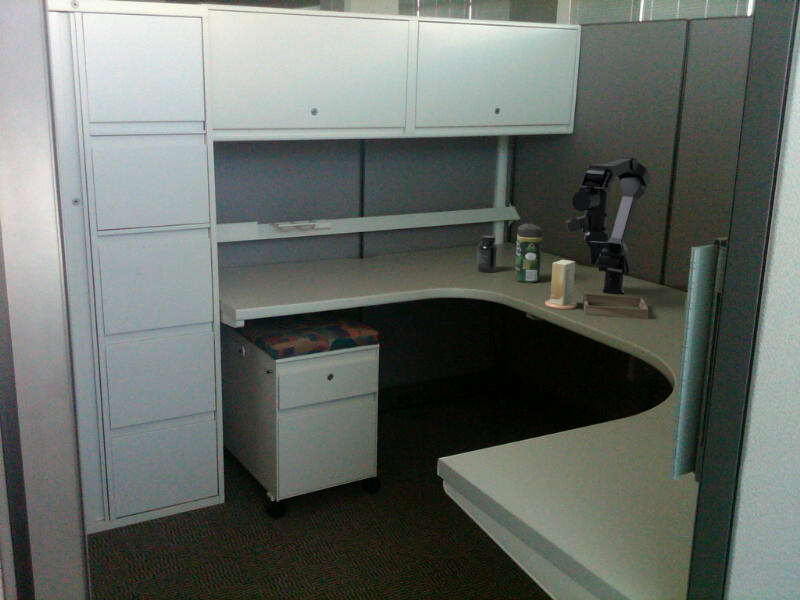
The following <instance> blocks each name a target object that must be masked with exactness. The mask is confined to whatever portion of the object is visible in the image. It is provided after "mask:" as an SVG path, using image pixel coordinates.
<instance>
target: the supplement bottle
mask: <svg viewBox="0 0 800 600" xmlns="http://www.w3.org/2000/svg"><path fill="white" fill-rule="evenodd" d="M498 251H499V248H498V245H496V236H493V235H482V236H481V239H480V244H479V245H478V246H477V254H476V255H477V257H476V271H477V272H481V273H485V274H486V273H488V274H489V273H490V274H491V273H496V272H497V269H498Z"/></svg>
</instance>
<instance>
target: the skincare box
mask: <svg viewBox="0 0 800 600" xmlns="http://www.w3.org/2000/svg"><path fill="white" fill-rule="evenodd" d="M551 268H552V269H551V283H550V297H549V300H550V303H551V304H556V305H561V306H563V305H566V304H568V303H571V302H572V301H573V299H574V285H575V284H574V282H575V271H576V261H573V260H567V259H560V260H557V261H554V262H552V267H551Z"/></svg>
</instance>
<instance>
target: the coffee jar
mask: <svg viewBox="0 0 800 600" xmlns="http://www.w3.org/2000/svg"><path fill="white" fill-rule="evenodd" d="M516 236H517V237H516V248H515V267H514V269H515V270H514V278H515V280H517V281H518V282H522V283H526V284H527V283H528V284H532V283H537V282H539V281H540V271H541V259H542V258H541V256H542V255H541V254H542V242H543V240H542V239H543V229H542V228H541V227H539V226H538V225H536V224H535V223H522V224H521V225H519V226H518V227H517V233H516Z"/></svg>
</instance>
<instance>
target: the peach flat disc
mask: <svg viewBox="0 0 800 600" xmlns="http://www.w3.org/2000/svg"><path fill="white" fill-rule="evenodd" d="M544 306H545V307H547V308H550V309H554V310H562V311H563V310H565V309H566V311H567V310H574V309H576V308H577V303H576V301H573V300H572V302H571V303H568V304H566V305H563V306H561V305H556V304H551V303H550V299H547V300H545V301H544Z"/></svg>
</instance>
